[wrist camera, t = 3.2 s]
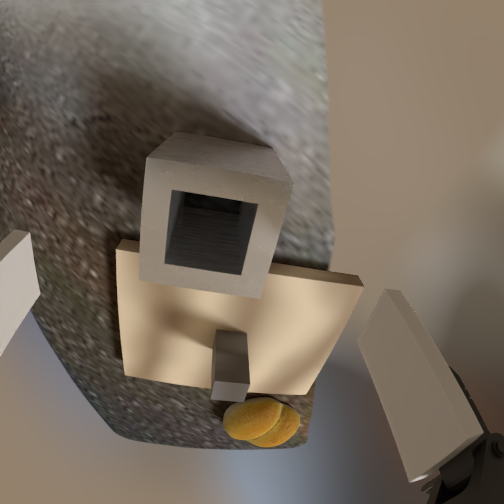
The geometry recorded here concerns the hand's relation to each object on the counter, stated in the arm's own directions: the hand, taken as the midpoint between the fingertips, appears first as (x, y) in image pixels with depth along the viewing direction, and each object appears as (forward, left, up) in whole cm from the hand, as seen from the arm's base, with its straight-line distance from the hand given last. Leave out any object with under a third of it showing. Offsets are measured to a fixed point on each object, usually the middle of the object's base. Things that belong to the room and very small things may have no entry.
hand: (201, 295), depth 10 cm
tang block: (+3, -12, -11) cm, 16 cm away
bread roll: (+9, -26, -11) cm, 29 cm away
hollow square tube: (0, 0, -11) cm, 11 cm away
